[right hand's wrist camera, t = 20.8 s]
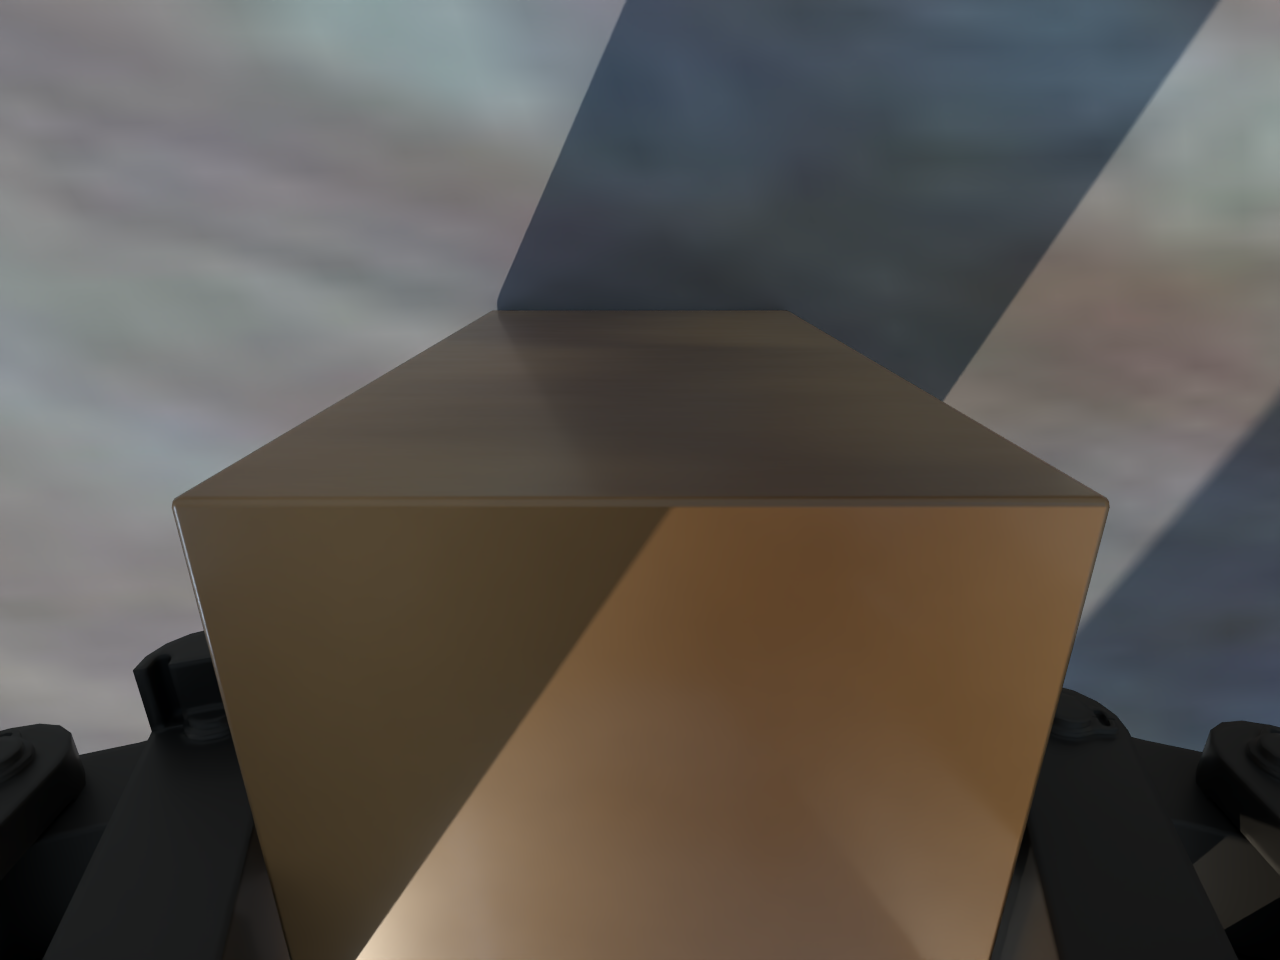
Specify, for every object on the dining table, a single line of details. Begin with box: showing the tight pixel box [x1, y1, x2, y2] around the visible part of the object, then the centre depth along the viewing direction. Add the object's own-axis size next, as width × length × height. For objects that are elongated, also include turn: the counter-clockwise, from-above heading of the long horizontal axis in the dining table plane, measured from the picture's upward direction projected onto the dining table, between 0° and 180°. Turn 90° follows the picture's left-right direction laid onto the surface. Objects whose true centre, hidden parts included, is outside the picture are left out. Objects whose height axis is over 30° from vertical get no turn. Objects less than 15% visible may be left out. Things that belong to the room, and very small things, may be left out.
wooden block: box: [172, 311, 1110, 960], centre depth 11 cm, size 6×9×10 cm
